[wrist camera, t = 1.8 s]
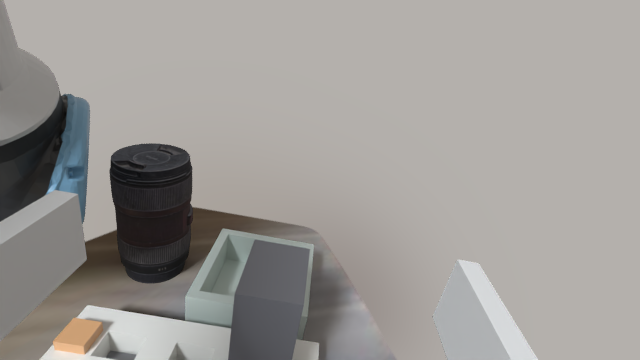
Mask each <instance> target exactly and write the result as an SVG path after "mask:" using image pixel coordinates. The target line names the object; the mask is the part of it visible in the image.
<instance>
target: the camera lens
mask: <svg viewBox="0 0 640 360" xmlns="http://www.w3.org/2000/svg"><path fill="white" fill-rule="evenodd" d="M110 180H111V191H112V198H113V202H114V205H115V210H116V222H117V240H118V249H119V253H120V257H121V262H122V264H123V265H124V266H125V268H126V272H127V274H128V275H129V277H131V278H132V279H133V280H135V281H138V282H142V283H158V282H163V281H166V280H169V279H171V278H173V277H175V276H176V275H177V274H178V273H180V271H181V270H182V269H183V267H184V264H185V260H186V258H187V257H188V253H189V245H190V240H191V226H190V224H191V223H192V220H193V209H192V206H191V204H190V201H191V194H192V166H191V162H190V156H189V154H188V153H187V152H186V151H185V150H183V149H181V148H178V147H175V146H171V145H164V144H139V145H132V146H128V147H125V148H122V149H119V150H117V151H116V152H115V153H114V154H113V155H112V156H111V168H110Z"/></svg>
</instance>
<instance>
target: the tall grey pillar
mask: <svg viewBox="0 0 640 360" xmlns="http://www.w3.org/2000/svg"><path fill="white" fill-rule="evenodd" d="M309 254H310V249H307V248H301V247H296V246H290V245H284V244H278V243H273V242H267V241H261V240H254V243H253V246H252V248H251V251H250V254H249V256H248V259H247V262H246V264H245V267H244V270H243V273H242V275H241V278H240V281H239V283H238V286H237V289H236V291H235V295H234V305H233V315H232V325H231V335H230V345H229V355H228V360H292V357H293V353H294V348H295V344H296V339H297V334H298V330H299V325H300V321H301V316H302V312H303V307H304V300H305V290H306V281H307V272H308V263H309Z"/></svg>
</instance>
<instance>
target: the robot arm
mask: <svg viewBox="0 0 640 360" xmlns="http://www.w3.org/2000/svg"><path fill="white" fill-rule="evenodd" d="M89 126H90V108H89V104H88V102H87V101H86V100H84V99H83V98H79V97H74V96H73V95H71V94H64V95H63V96H61V95H60V91H59V87H58V83H57V81H56V78H55V76H54V74H53V73H52V71H51V70H50V69H49V67H48V66H46V65H45V64H44V63H43V62H42V61H40V60H39V59H38V58H37V57H35V56H33V55H32V54H30V53H28V52H26V51H24V50H22V49H20V48H18V46H17V42H16V39H15V36H14V33H13V29H12V26H11V23H10V20H9V17H8V13H7V10H6V7H5V4H4V1H3V0H0V341H1V340H2V339H3V338H4V337H5V336H6V335H8V334H9V333H10V332H11V331H12V330H13V329H14V328H15V327H16V326H17V325H18V324H19V323H20V322H21V321H22V320H23V319H25V318H26V317H27V316H28V315H29V314H30V313H31V312H32V311H33V310H34V309H35V308H36V307H37V306H38V305H39V304H40V303H41V302H43V301H44V300H45V299H46V298H47V297H48V296H49V295H50V294H51V293H52V292H53V291H54V290H55V289H56V288H57V287H58V286H60V285H61V284H62V283H63V282H64V281H65V280H66V279H67V278H68V277H69V276H70V275H71V274H72V273H73V272H74V271H75V270H76V269H78V268H79V267H80V266H81V265H82V264H83V263H84V262H85V261H86V260H87V256H86V249H85V241H84V234H83V227H82V224H83V222H84V216H85V206H86V191H87V190H86V189H87V174H88V153H89V128H90V127H89ZM433 319H434V322H435V325H436V328H437V331H438V334H439V336H440V339H441V343H442V345H443V348H444V351H445V354H446V357H447V360H538V359H537V358H536V356H535V354H534V352H533V351H532V350H531V348H530V346H529V344H528V343H527V341H526V339H525V338H524V336H523V335H522V333H521V331H520V330H519V328H518V327H517V325H516V323H515V322H514V320H513V318H512V317H511V315H510V313H509V312H508V310H507V309H506V307H505V305H504V304H503V302H502V300H501V299H500V297H499V296H498V294H497V292H496V291H495V289H494V287H493V286H492V284H491V283H490V281H489V279H488V278H487V276H486V274H485V273H484V271H483V270H482V268H481V267H480V265H479V263H474V262H469V261H463V260H457V262H456V264H455V266H454V269H453V271H452V273H451V275H450V278H449V280H448V282H447V285H446V287H445V289H444V292H443V294H442V297H441V299H440V301H439V303H438V305H437V308H436V310H435V312H434V315H433Z"/></svg>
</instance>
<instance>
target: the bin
mask: <svg viewBox="0 0 640 360" xmlns="http://www.w3.org/2000/svg"><path fill="white" fill-rule="evenodd" d="M254 240H261V241H267V242H273V243H278V244H284V245H290V246H296V247H301V248H307V249H310V254H309V263H308V272H307V281H306V290H305V300H304V307H303V312H302V316H301V321H300V325H299V330H298V334H297V339H298V340H302V339H303V335H304V330H305V326H306V322H307V317H308V307H309V296H310V285H311V274H312V263H313V252H314V244H309V243H303V242H298V241H292V240H286V239H281V238H275V237H269V236H263V235H258V234H252V233H246V232H241V231H235V230H229V229H224V228H223V229H222V231H221V233H220V234H219V236H218V238H217V240H216V242H215V243H214V245H213V247H212V249H211V251H210V253H209V254H208V256H207V258H206V260H205V262H204V263H203V265H202V267H201V269H200V271H199V273H198V274H197V276H196V278H195V280H194V282H193V284H192V285H191V287H190V289H189V291H188V293H187V294H186V296H185V321H188V322H194V323H200V324H207V325H213V326H219V327H225V328H231V325H232V315H233V305H234V295H235V291H236V289H237V286H238V283H239V281H240V278H241V275H242V273H243V270H244V267H245V264H246V262H247V259H248V256H249V254H250V251H251V248H252V246H253V243H254Z"/></svg>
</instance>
